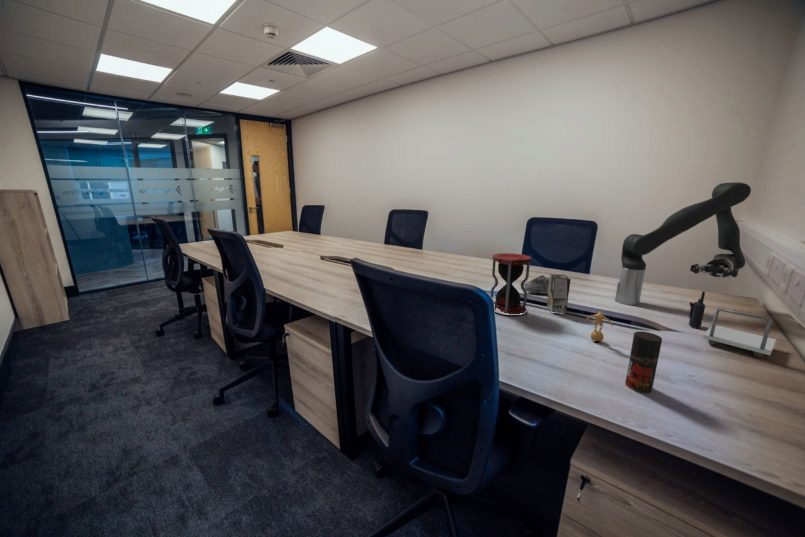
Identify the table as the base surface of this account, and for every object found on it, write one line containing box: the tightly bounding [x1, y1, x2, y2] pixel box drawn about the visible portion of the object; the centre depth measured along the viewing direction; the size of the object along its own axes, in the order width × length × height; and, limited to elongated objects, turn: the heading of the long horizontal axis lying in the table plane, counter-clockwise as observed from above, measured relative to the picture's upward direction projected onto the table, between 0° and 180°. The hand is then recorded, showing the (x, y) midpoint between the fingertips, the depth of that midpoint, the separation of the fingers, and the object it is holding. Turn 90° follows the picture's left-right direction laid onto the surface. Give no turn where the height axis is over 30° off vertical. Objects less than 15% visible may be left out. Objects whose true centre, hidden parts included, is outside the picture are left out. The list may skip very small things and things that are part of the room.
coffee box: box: [546, 273, 571, 314], centre depth 144 cm, size 9×6×16 cm
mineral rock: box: [524, 274, 550, 295], centre depth 172 cm, size 13×11×10 cm
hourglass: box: [490, 252, 532, 314], centre depth 144 cm, size 16×16×25 cm
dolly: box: [702, 307, 777, 358], centre depth 110 cm, size 16×15×14 cm
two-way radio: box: [688, 291, 706, 329], centre depth 128 cm, size 6×4×15 cm
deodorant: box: [624, 331, 663, 394], centre depth 86 cm, size 6×6×15 cm
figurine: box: [585, 311, 614, 342], centre depth 113 cm, size 8×6×12 cm
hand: (709, 273), depth 131 cm, fingers open, 8 cm apart
